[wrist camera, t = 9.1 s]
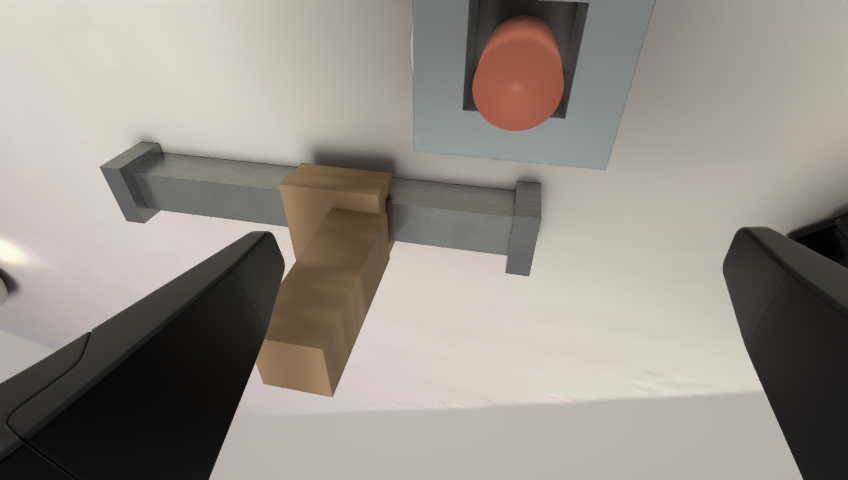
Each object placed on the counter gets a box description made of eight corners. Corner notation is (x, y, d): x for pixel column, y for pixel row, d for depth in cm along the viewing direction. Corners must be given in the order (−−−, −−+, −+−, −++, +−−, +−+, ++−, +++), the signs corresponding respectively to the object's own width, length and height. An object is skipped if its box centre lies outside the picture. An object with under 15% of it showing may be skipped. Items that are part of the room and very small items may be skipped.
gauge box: (651, -76, 16) (675, -71, 13) (596, 134, 21) (605, 170, 18) (426, -79, 17) (406, -75, 14) (425, 120, 22) (409, 150, 19)
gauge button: (566, 17, 15) (573, 43, 13) (551, 96, 17) (554, 134, 14) (487, 13, 16) (476, 38, 13) (480, 90, 18) (469, 127, 15)
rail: (540, 183, 23) (540, 218, 20) (529, 238, 25) (529, 276, 22) (140, 141, 26) (99, 166, 24) (162, 193, 28) (126, 220, 26)
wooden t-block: (399, 170, 22) (318, 329, 14) (401, 243, 25) (335, 411, 17) (301, 159, 23) (168, 304, 15) (314, 232, 26) (210, 386, 18)
